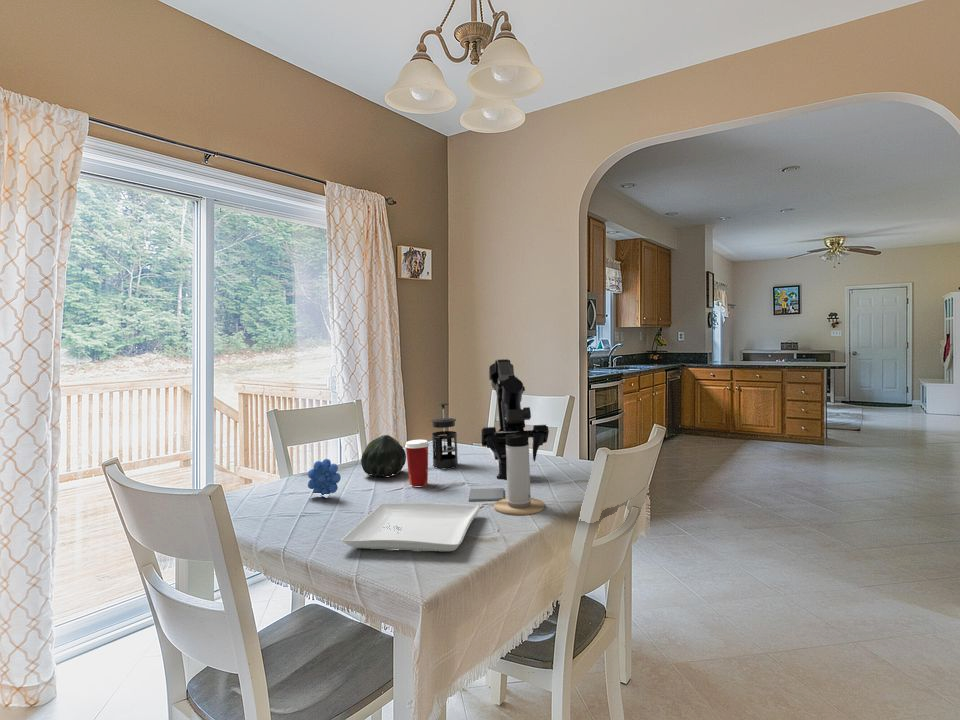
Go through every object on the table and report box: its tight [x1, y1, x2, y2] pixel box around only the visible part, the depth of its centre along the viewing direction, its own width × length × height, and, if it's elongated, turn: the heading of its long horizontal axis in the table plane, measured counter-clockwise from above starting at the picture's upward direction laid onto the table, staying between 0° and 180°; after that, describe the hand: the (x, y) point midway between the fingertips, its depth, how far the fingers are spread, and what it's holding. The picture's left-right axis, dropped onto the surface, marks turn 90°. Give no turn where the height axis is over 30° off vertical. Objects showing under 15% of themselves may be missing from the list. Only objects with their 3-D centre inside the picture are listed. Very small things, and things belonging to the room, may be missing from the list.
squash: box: [360, 434, 407, 477], centre depth 184 cm, size 14×15×15 cm
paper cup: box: [404, 439, 430, 487], centre depth 170 cm, size 8×8×14 cm
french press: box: [431, 402, 459, 469], centre depth 193 cm, size 12×9×23 cm
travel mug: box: [506, 430, 532, 508], centre depth 145 cm, size 6×7×20 cm
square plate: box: [340, 502, 481, 552], centre depth 128 cm, size 27×27×4 cm
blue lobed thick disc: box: [307, 458, 341, 495], centre depth 160 cm, size 12×7×12 cm, turn 69°
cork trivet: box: [493, 497, 546, 516], centre depth 145 cm, size 14×14×1 cm
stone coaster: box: [468, 487, 505, 502], centre depth 156 cm, size 10×10×1 cm
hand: (517, 461), depth 145 cm, fingers open, 9 cm apart
